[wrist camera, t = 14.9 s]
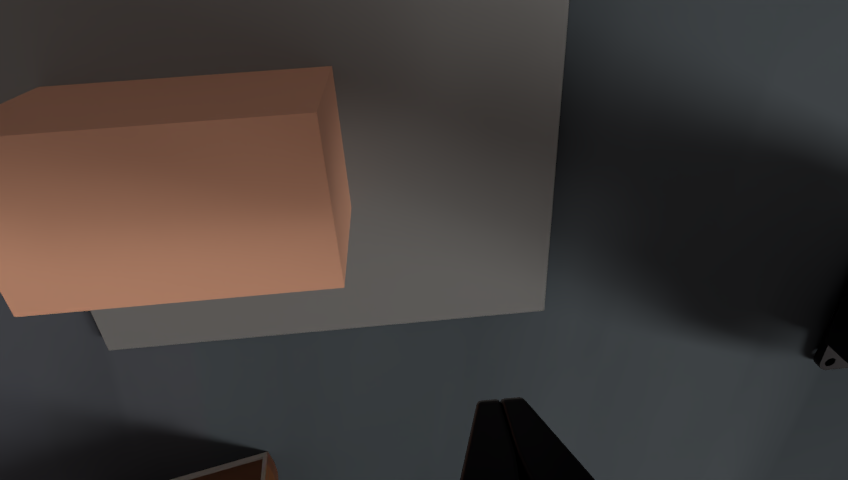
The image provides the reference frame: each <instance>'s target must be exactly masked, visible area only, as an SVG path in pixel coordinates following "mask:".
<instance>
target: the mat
mask: <svg viewBox="0 0 848 480" xmlns="http://www.w3.org/2000/svg"><path fill="white" fill-rule="evenodd" d="M568 10H569V0H0V104H2V103H4V102H6V101H8V100H10V99H13V98H15V97H17V96H19V95H21V94H24V93H26V92H28V91H30V90H33V89H35V88H37V87H44V86H58V85H72V84H86V83H100V82H114V81H128V80H142V79H156V78H170V77H184V76H198V75H212V74H226V73H240V72H254V71H269V70H283V69H297V68H311V67H325V66H332V70H333V77H334V84H335V91H336V99H337V106H338V113H339V121H340V128H341V135H342V142H343V150H344V157H345V164H346V172H347V179H348V186H349V193H350V201H351V219H350V230H349V242H348V253H347V264H346V276H345V287H344V288H335V289H324V290H313V291H302V292H290V293H279V294H268V295H257V296H246V297H234V298H223V299H212V300H201V301H189V302H178V303H167V304H156V305H145V306H133V307H122V308H111V309H100V310H90V311H91V313H92V316H93V318H94V320H95V322H96V324H97V326H98V328H99V330H100V333H101V335H102V337H103V339H104V341H105V343H106V345H107V347H108V350H119V349H130V348H141V347H152V346H163V345H174V344H184V343H195V342H206V341H217V340H228V339H239V338H250V337H261V336H272V335H283V334H293V333H304V332H315V331H326V330H337V329H348V328H359V327H370V326H381V325H392V324H402V323H413V322H424V321H435V320H446V319H457V318H468V317H479V316H490V315H501V314H512V313H522V312H533V311H544V305H545V292H546V280H547V268H548V255H549V243H550V231H551V219H552V206H553V194H554V182H555V169H556V157H557V145H558V133H559V120H560V108H561V96H562V83H563V71H564V59H565V47H566V34H567V22H568Z"/></svg>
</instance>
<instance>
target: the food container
mask: <svg viewBox="0 0 848 480" xmlns="http://www.w3.org/2000/svg"><path fill="white" fill-rule="evenodd" d="M171 480H278V471H277V468H276V466H275V463H274V461H273V459H272V458H271V456H270V454H269V453H268V452H264V453H261V454H258V455H254V456H251V457H247V458H244V459H240V460H237V461H233V462H230V463H226V464H223V465H219V466H216V467H212V468H209V469H205V470H202V471H198V472H195V473H191V474H188V475H185V476H181V477H178V478H174V479H171Z"/></svg>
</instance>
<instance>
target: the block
mask: <svg viewBox="0 0 848 480" xmlns="http://www.w3.org/2000/svg"><path fill="white" fill-rule="evenodd" d="M350 219H351V201H350V193H349V186H348V179H347V172H346V164H345V157H344V150H343V142H342V135H341V128H340V121H339V113H338V106H337V99H336V91H335V84H334V77H333V70H332V66H325V67H311V68H297V69H283V70H269V71H254V72H240V73H226V74H212V75H198V76H184V77H170V78H156V79H142V80H128V81H114V82H100V83H86V84H72V85H58V86H44V87H37V88H35V89H33V90H30V91H28V92H26V93H24V94H21V95H19V96H17V97H15V98H13V99H10V100H8V101H6V102H4V103H2V104H0V292H1V294H2V296H3V297H4V299H5V301H6V303H7V304H8V306H9V308H10V310H11V311H12V313H13V315H14V317H21V316H33V315H44V314H55V313H66V312H77V311H89V310H100V309H111V308H122V307H133V306H145V305H156V304H167V303H178V302H189V301H201V300H212V299H223V298H234V297H246V296H257V295H268V294H279V293H290V292H302V291H313V290H324V289H335V288H344V287H345V276H346V264H347V253H348V242H349V230H350Z"/></svg>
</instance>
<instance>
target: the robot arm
mask: <svg viewBox="0 0 848 480" xmlns="http://www.w3.org/2000/svg"><path fill="white" fill-rule="evenodd" d="M814 362H815V363H816V364H817V365H818V366H819V367H820V368H821V369H823V370H830V369H840V368H848V281H847V283H846V285H845V288H844V290H843V292H842V295H841V297H840V299H839V301H838V304H837V306H836V308H835V311H834V313H833V315H832V318H831V320H830V322H829V324H828V327H827V329H826V331H825V334H824V336H823V338H822V340H821V343H820V345H819V347H818V350H817V352H816V354H815V357H814ZM460 480H595V479H594V478H593V477H592V476H591V475H590V474H589V472H588V471H587V470H586V469H585V468H584V467H583V466H582V465H581V463H580V462H579V461H578V460H577V459H576V458H575V457H574V455H573V454H572V453H571V452H570V451H569V450H568V449H567V447H566V446H565V445H564V444H563V443H562V442H561V441H560V439H559V438H558V437H557V436H556V435H555V434H554V433H553V431H552V430H551V429H550V428H549V427H548V426H547V425H546V424H545V422H544V421H543V420H542V419H541V418H540V417H539V416H538V414H537V413H536V412H535V411H534V410H533V409H532V408H531V406H530V405H529V404H528V403H527V402H526V401H525V400H524V399H523V398H520V397H517V398H506V399H502V400H501V401H500V402H499V400H496V399H494V400H483V401H479V402H478V403H477V405H476V410H475V414H474V419H473V423H472V428H471V432H470V437H469V441H468V446H467V451H466V455H465V460H464V464H463V469H462V473H461V478H460Z"/></svg>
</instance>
